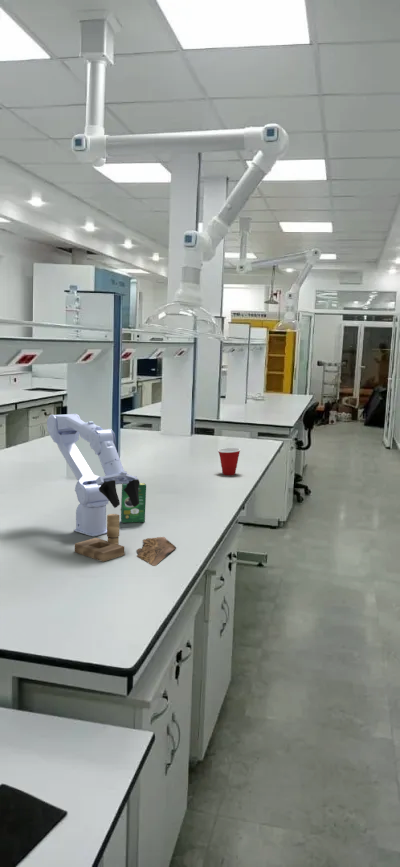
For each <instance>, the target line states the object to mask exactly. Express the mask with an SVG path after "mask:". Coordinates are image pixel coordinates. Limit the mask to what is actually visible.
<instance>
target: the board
mask: <svg viewBox="0 0 400 867" xmlns="http://www.w3.org/2000/svg"><path fill="white" fill-rule="evenodd" d="M74 553H77V554H79V555H81V556H85V557H88V558H90V559H93V560H97V561H100V562H103V563H104V562H106V561H110V560H113V559H116V558H119V557H122V556H125V545H120V544H119V545H118V544H115V543H112V542H108V540H105V539H102V538H98V537H93V538H90V539H85V540H83V541H79V542H75V543H74Z"/></svg>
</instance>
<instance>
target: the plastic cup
mask: <svg viewBox="0 0 400 867" xmlns="http://www.w3.org/2000/svg"><path fill="white" fill-rule="evenodd" d="M241 450H242V449H241V448H239V447H223V448H218V449H217V452H218V455H219V459H220V466H221V472H222V475H224V476H235V474H236V471H237V468H238V461H239V456H240V453H241Z"/></svg>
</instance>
